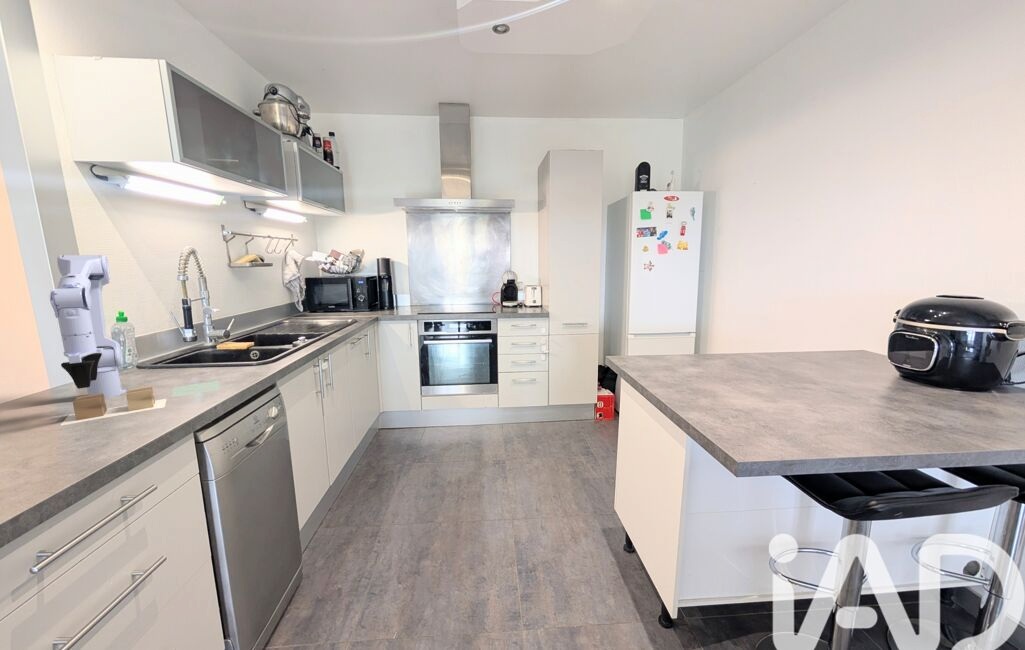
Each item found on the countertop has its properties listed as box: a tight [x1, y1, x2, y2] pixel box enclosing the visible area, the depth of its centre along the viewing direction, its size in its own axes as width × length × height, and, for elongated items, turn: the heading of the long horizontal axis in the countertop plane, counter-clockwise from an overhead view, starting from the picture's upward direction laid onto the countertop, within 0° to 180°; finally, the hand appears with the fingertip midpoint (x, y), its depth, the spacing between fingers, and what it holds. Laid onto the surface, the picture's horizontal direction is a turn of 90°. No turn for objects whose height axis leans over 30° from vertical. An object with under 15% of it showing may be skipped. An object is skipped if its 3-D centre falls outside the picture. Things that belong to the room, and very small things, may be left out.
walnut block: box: [72, 393, 108, 420], centre depth 105 cm, size 5×5×5 cm
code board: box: [60, 398, 167, 427], centre depth 109 cm, size 9×20×1 cm, turn 128°
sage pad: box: [170, 380, 221, 398], centre depth 127 cm, size 12×12×1 cm
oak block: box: [125, 385, 156, 411], centre depth 111 cm, size 5×5×5 cm
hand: (87, 384), depth 104 cm, fingers open, 7 cm apart
